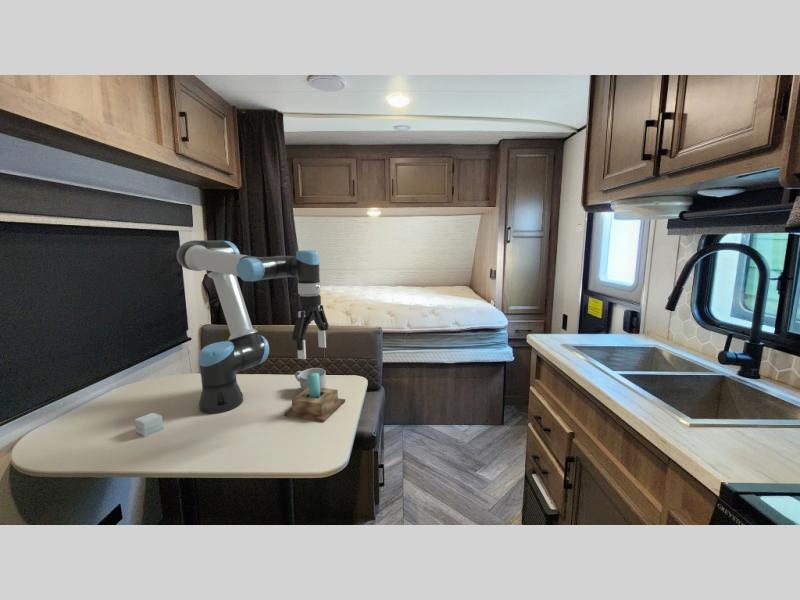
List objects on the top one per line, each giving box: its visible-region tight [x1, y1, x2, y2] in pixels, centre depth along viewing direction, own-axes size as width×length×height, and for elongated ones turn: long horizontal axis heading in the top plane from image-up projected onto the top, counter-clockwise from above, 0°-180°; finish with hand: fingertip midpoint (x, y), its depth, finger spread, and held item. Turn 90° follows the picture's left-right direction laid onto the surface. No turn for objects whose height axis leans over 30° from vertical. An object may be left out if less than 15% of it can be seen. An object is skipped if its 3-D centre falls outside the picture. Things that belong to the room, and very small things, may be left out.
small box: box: [134, 412, 164, 438], centre depth 112 cm, size 6×6×5 cm
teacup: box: [294, 367, 327, 392], centre depth 142 cm, size 14×11×8 cm
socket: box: [283, 387, 346, 423], centre depth 126 cm, size 16×16×6 cm
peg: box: [308, 373, 320, 398], centre depth 126 cm, size 4×4×12 cm
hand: (312, 352), depth 123 cm, fingers open, 13 cm apart
